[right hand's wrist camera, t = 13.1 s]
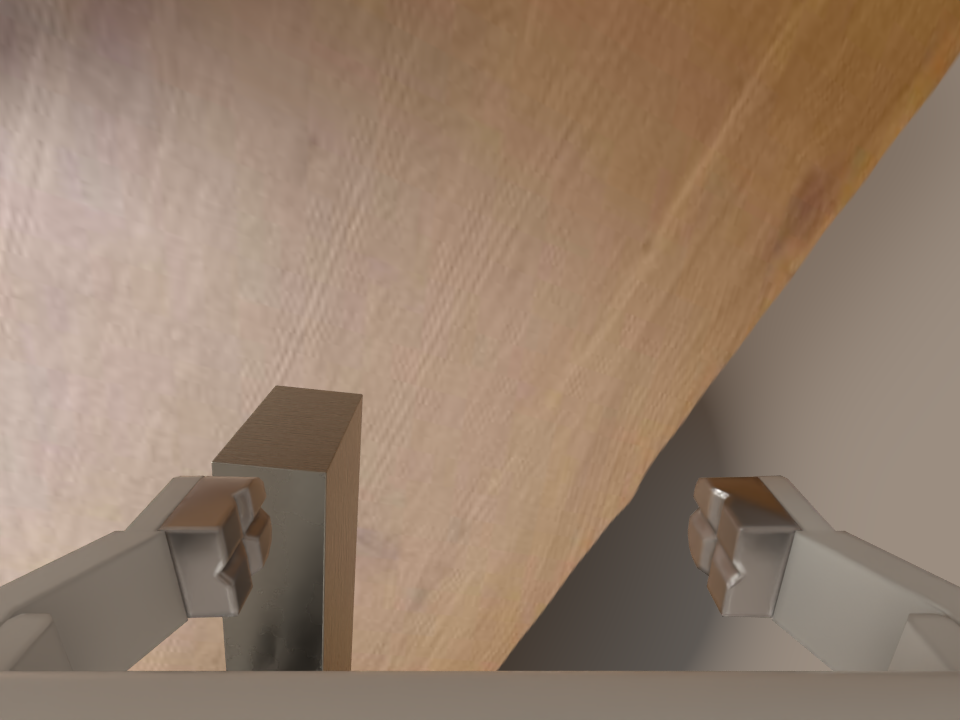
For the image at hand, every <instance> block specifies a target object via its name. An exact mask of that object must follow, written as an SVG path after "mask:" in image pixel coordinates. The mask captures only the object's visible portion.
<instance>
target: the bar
mask: <svg viewBox="0 0 960 720" xmlns="http://www.w3.org/2000/svg"><path fill="white" fill-rule="evenodd" d="M362 399H363V395H362V394H354V393H344V392H335V391H325V390H315V389H306V388H296V387H286V386H275V387H274V388H273V390H272V391H271V392H270V393H269V394H268V396H267V397H266V398H265V399H264V400H263V402H262V403H261V404H260V405H259V406H258V408H257V409H256V410H255V411H254V412H253V413H252V415H251V416H250V417H249V418H248V419H247V421H246V422H245V423H244V424H243V425H242V427H241V428H240V429H239V430H238V431H237V433H236V434H235V435H234V436H233V437H232V438H231V440H230V441H229V442H228V443H227V444H226V446H225V447H224V448H223V449H222V450H221V452H220V453H219V454H218V455H217V456H216V458H215V459H214V460H213V461H212V474H213V476H228V477H259V478H260V479H261V480H262V481H263V482H264V487H265V491H266V496H267V497H266V499H265V500H264V502H263V504H262V506H261V508H262V509H263V510H264V511H265V512H266V513H267V514H268V515H269V516H270V519H271V525H272V542H271V546H270V551H269V555H268V558H267V560H266V562H265V564H264V566H263V568H262V569H261V570H259V571H258V572H256V573H255V574H253V575H252V576H251V578H252V584H253V588H252V590H251V592H250V594H249V596H248V598H247V600H246V601H245V603H244V605H243V607H242V609H241V611H240V613H239V615H238V616H233V617H223V630H224V644H225V658H226V671H351V655H352V632H353V608H354V585H355V562H356V538H357V515H358V492H359V469H360V445H361V422H362Z"/></svg>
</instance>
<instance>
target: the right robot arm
mask: <svg viewBox="0 0 960 720" xmlns="http://www.w3.org/2000/svg"><path fill="white" fill-rule="evenodd" d="M266 497H267V496H266V491H265V487H264V482H263V481H262V480H261V479H260V478H259V477H228V476H206V477H205V476H179V477H175V478H173V479H172V480H171V481H170V482H169V483H168V484H167V485H166V486H165V487H164V489H163V490H162V491H161V492H160V493H159V494H158V495H157V496H156V497H155V498H154V499H153V500H152V502H151V503H150V504H149V505H148V506H147V507H146V508H145V509H144V510H143V511H142V512H141V513H140V515H139V516H138V517H137V518H136V519H135V520H134V521H133V522H132V523H131V524H130V525H129V527H128V528H127V529H126V530H125V531H114V532H112V533H110V534H108V535H106V536H104V537H102V538H100V539H98V540H96V541H94V542H92V543H90V544H88V545H86V546H84V547H81V548H79V549H77V550H75V551H73V552H71V553H69V554H67V555H65V556H63V557H61V558H59V559H57V560H55V561H53V562H51V563H48V564H46V565H44V566H42V567H40V568H38V569H36V570H34V571H32V572H30V573H28V574H26V575H24V576H22V577H20V578H18V579H16V580H13V581H11V582H9V583H7V584H5V585H3V586H1V587H0V720H960V587H959V586H957V585H954V584H952V583H950V582H948V581H946V580H944V579H942V578H940V577H938V576H936V575H934V574H932V573H930V572H928V571H926V570H924V569H922V568H920V567H917V566H915V565H913V564H911V563H909V562H907V561H905V560H903V559H901V558H899V557H897V556H895V555H893V554H891V553H889V552H887V551H885V550H883V549H881V548H878V547H876V546H874V545H872V544H870V543H868V542H866V541H864V540H862V539H860V538H858V537H856V536H854V535H852V534H850V533H848V532H846V531H835V530H834V529H833V528H832V527H831V525H830V524H829V523H828V522H827V521H826V520H825V519H824V518H823V517H822V516H821V515H820V513H819V512H818V511H817V510H816V509H815V508H814V507H813V506H812V505H811V504H810V503H809V502H808V500H807V499H806V498H805V497H804V496H803V495H802V494H801V493H800V492H799V491H798V490H797V488H796V487H795V486H794V485H793V484H792V483H791V482H790V481H789V480H788V479H787V478H785V477H783V476H754V477H723V478H699V479H698V481H697V483H696V485H695V491H694V496H693V497H694V499H695V500H696V502H697V504H698V506H699V508H698V509H697V510H696V511H695V512H694V513H693V514H692V515H691V516H690V520H689V527H688V539H689V548H690V551H691V555H692V558H693V560H694V562H695V564H696V566H697V568H698V569H699V570H701V571H702V572H704V573H705V574H707V575H708V576H709V578H708V584H707V588H708V590H709V592H710V594H711V596H712V598H713V599H714V601H715V603H716V605H717V607H718V609H719V611H720V613H721V615H722V616H725V617H761V618H773V619H772V620H773V621H774V622H775V623H776V624H777V625H779V626H780V627H781V628H782V629H784V630H785V631H786V632H787V633H788V634H790V635H791V636H792V637H793V638H794V639H796V640H797V641H798V642H799V643H800V644H802V645H803V646H804V647H805V648H806V649H808V650H809V651H810V652H811V653H813V654H814V655H815V656H816V657H817V658H819V659H820V660H821V661H822V662H824V663H825V664H826V665H827V666H828V667H830V668H831V669H832V670H833V671H127V670H128V669H129V668H131V667H132V666H133V665H134V664H136V663H137V662H138V661H139V660H140V659H142V658H143V657H144V656H145V655H146V654H148V653H149V652H150V651H151V650H153V649H154V648H155V647H156V646H157V645H159V644H160V643H161V642H162V641H163V640H165V639H166V638H167V637H168V636H170V635H171V634H172V633H173V632H174V631H176V630H177V629H178V628H179V627H180V626H182V625H183V624H184V623H185V622H186V621H188V619H187V618H198V617H233V616H238V615H239V613H240V611H241V609H242V607H243V605H244V603H245V601H246V600H247V598H248V596H249V594H250V592H251V590H252V588H253V584H252V578H251V576H252V575H253V574H255V573H256V572H258V571H259V570H261V569H262V568H263V566H264V564H265V562H266V560H267V558H268V555H269V551H270V546H271V542H272V525H271V519H270V516H269V515H268V514H267V513H266V512H265V511H264V510H263V509H262V508H261V506H262V504H263V502H264V500H265V499H266Z"/></svg>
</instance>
